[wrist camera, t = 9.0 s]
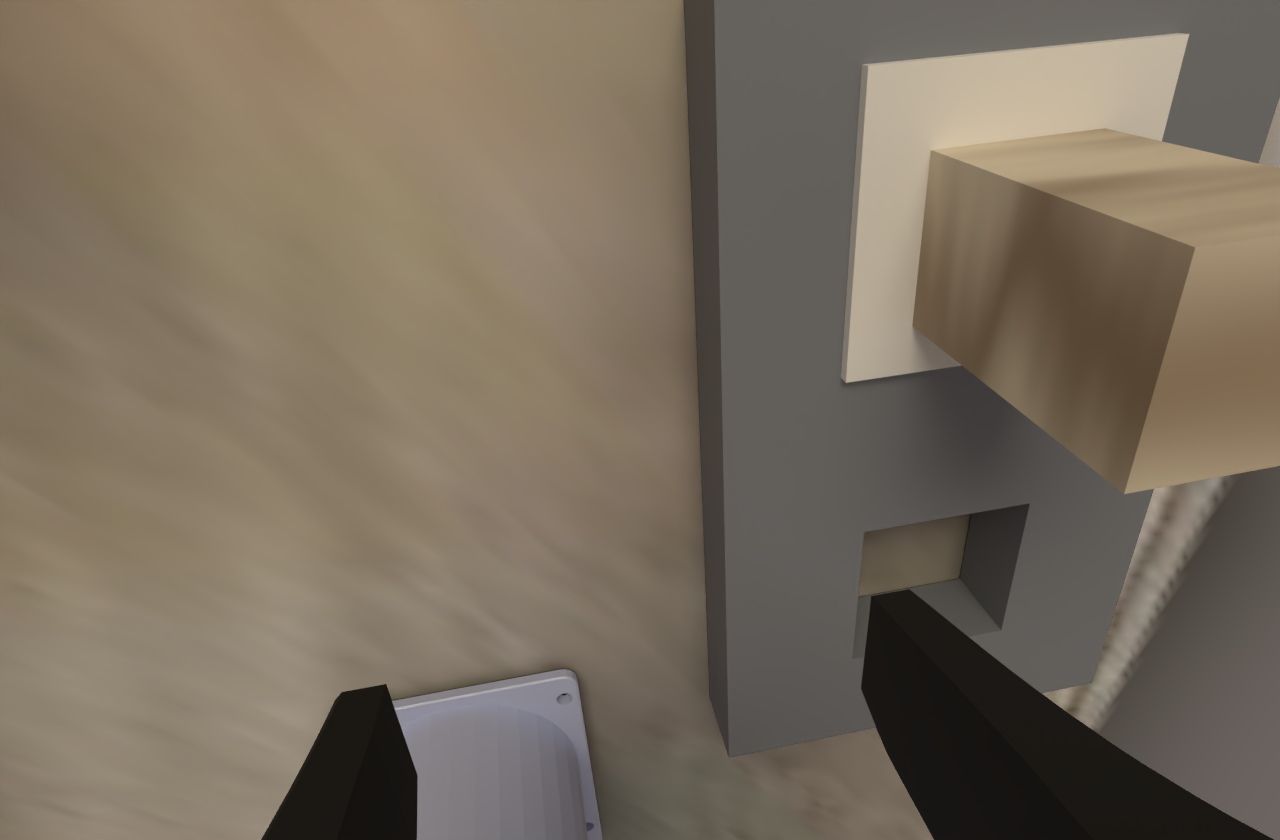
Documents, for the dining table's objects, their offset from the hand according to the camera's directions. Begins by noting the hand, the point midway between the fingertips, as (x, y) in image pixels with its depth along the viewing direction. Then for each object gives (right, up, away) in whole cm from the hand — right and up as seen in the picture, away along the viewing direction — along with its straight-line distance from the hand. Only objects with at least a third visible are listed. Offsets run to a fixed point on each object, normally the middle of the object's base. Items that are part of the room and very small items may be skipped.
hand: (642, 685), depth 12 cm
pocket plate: (+8, +5, +11) cm, 15 cm away
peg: (+8, +8, +6) cm, 13 cm away
